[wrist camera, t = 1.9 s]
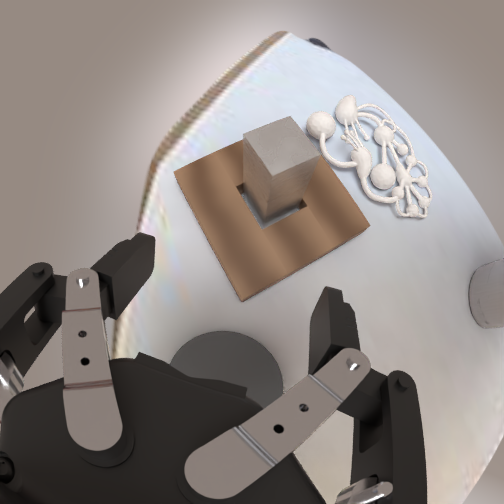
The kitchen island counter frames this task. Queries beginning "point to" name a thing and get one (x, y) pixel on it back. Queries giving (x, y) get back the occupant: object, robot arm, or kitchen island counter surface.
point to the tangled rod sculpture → (381, 174)
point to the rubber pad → (232, 364)
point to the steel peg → (276, 169)
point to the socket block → (274, 236)
